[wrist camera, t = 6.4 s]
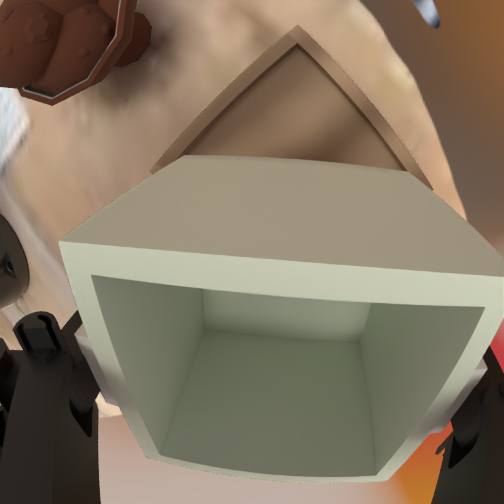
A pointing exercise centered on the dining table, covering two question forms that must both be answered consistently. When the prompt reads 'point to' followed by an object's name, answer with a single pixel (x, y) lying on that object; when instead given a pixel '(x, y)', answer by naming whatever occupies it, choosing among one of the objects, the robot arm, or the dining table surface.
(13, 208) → the dining table surface
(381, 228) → the sage crate
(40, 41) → the ice cream bowl
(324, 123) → the walnut tray
